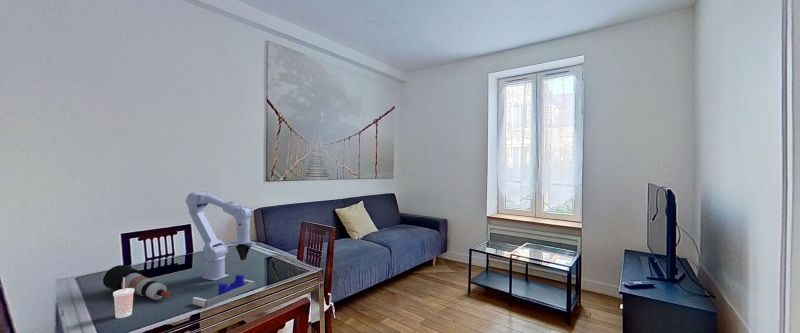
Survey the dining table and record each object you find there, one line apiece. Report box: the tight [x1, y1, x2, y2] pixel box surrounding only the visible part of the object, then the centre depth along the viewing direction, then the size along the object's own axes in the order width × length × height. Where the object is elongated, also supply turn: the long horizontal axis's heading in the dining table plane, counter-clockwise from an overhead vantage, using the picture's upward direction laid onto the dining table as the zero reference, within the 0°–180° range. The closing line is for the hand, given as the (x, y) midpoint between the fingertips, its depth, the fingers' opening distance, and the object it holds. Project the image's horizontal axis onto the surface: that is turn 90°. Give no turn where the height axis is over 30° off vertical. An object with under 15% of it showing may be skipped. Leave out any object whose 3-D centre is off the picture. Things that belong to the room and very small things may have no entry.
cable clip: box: [218, 274, 245, 296], centre depth 137 cm, size 12×4×6 cm, turn 171°
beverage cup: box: [112, 277, 134, 319], centre depth 117 cm, size 6×6×14 cm
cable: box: [102, 264, 171, 301], centre depth 135 cm, size 10×34×10 cm, turn 67°
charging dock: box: [192, 279, 257, 309], centre depth 135 cm, size 8×23×2 cm, turn 156°
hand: (243, 259), depth 155 cm, fingers closed
